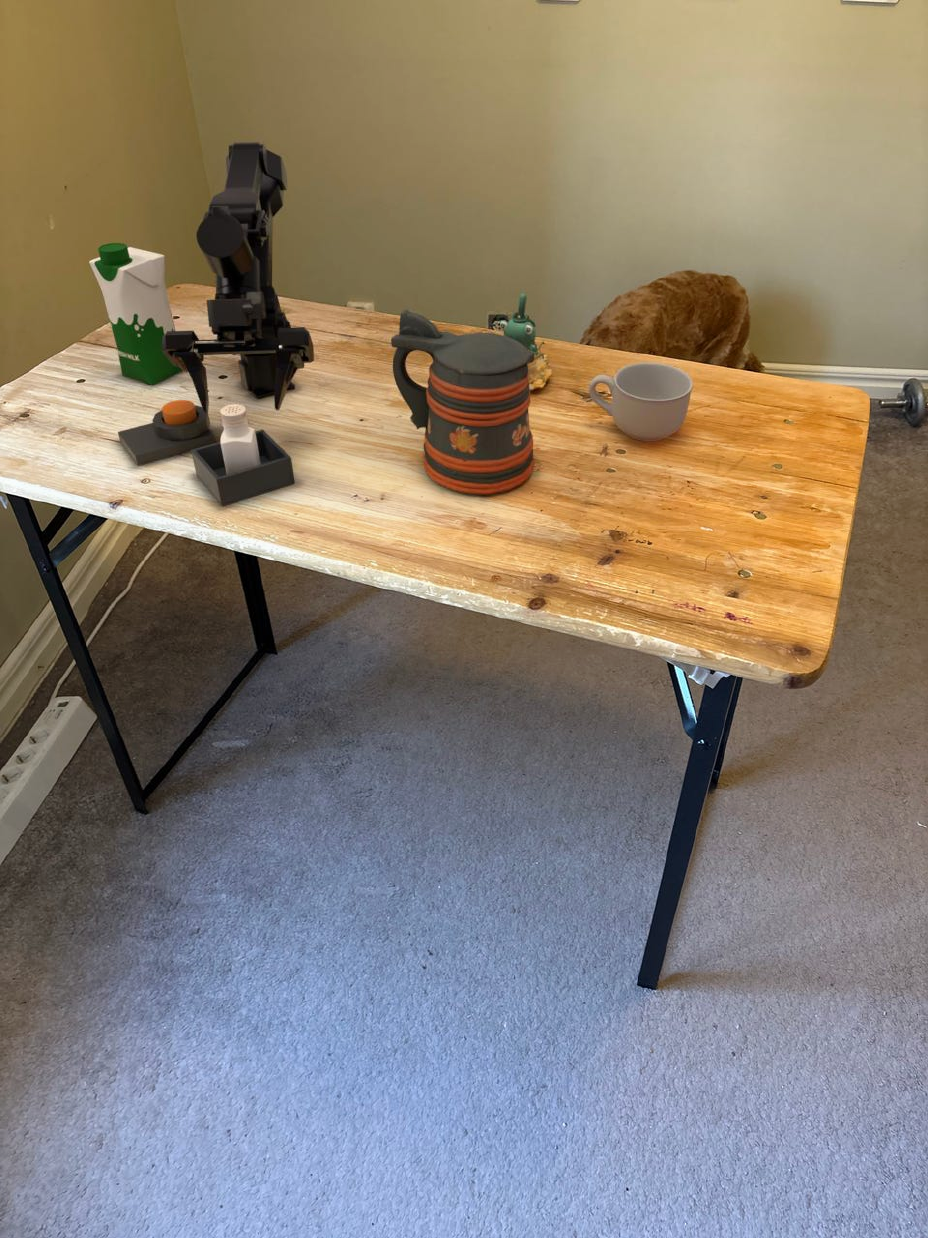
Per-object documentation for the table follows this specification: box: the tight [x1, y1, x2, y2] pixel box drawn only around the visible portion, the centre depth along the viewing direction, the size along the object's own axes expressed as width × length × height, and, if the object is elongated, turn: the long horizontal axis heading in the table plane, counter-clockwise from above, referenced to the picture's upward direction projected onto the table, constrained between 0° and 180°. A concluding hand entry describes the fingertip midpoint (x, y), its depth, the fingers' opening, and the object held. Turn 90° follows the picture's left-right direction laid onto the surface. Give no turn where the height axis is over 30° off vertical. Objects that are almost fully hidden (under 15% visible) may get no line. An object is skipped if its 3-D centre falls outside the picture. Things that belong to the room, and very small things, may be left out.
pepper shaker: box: [219, 403, 261, 474], centre depth 116 cm, size 4×4×10 cm
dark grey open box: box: [190, 429, 296, 508], centre depth 118 cm, size 10×9×4 cm
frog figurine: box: [496, 292, 553, 392], centre depth 137 cm, size 10×18×15 cm, turn 145°
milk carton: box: [88, 242, 184, 386], centre depth 138 cm, size 9×9×20 cm
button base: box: [117, 404, 216, 467], centre depth 126 cm, size 12×8×4 cm
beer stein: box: [390, 309, 535, 496], centre depth 115 cm, size 19×15×20 cm
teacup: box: [588, 361, 694, 442], centre depth 126 cm, size 14×11×8 cm
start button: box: [161, 399, 197, 425], centre depth 125 cm, size 4×4×2 cm
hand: (241, 410), depth 118 cm, fingers open, 9 cm apart
